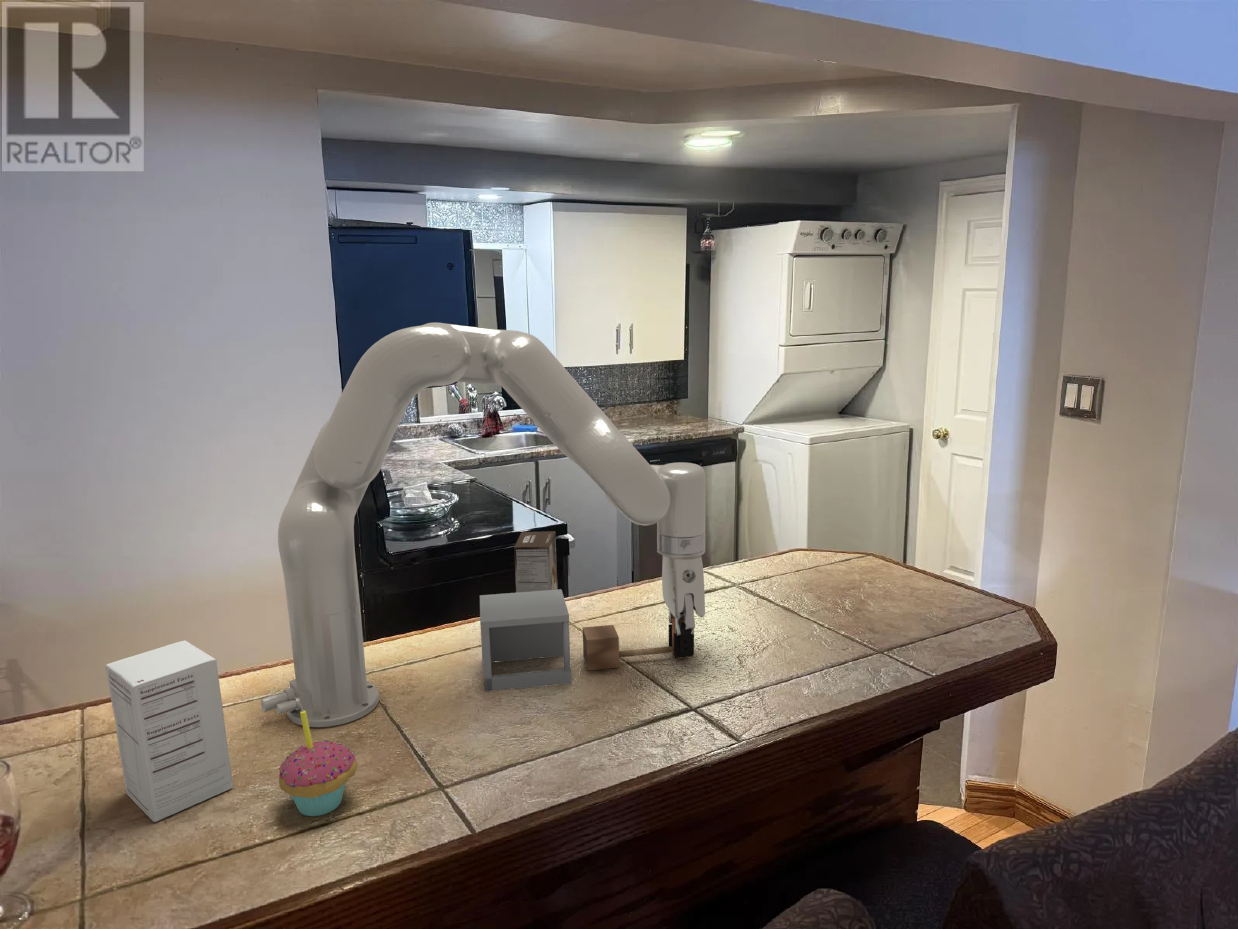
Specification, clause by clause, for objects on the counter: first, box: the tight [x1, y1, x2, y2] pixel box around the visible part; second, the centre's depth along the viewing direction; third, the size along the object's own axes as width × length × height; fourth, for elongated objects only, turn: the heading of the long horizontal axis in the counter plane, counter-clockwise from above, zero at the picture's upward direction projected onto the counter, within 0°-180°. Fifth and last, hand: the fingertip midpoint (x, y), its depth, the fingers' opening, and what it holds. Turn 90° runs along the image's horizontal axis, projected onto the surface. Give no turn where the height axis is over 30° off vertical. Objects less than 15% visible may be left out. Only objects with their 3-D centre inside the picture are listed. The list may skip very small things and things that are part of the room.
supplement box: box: [105, 640, 234, 823], centre depth 98 cm, size 10×9×17 cm
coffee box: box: [513, 530, 558, 593], centre depth 146 cm, size 9×6×16 cm
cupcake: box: [278, 705, 358, 817], centre depth 96 cm, size 9×8×12 cm
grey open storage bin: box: [479, 588, 572, 692], centre depth 129 cm, size 13×11×11 cm
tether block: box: [582, 617, 687, 671], centre depth 132 cm, size 17×5×6 cm, turn 100°
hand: (681, 650), depth 134 cm, fingers closed on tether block, 2 cm apart
